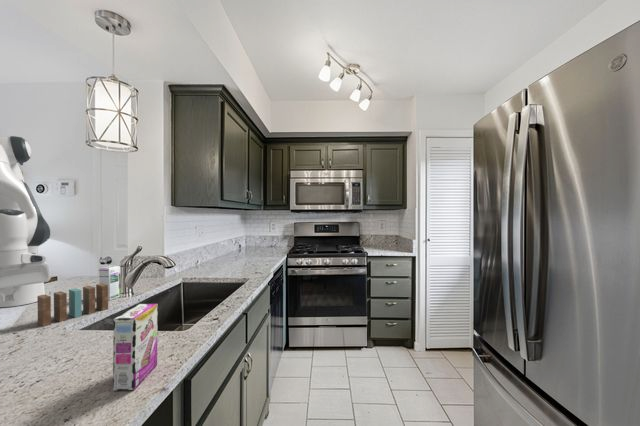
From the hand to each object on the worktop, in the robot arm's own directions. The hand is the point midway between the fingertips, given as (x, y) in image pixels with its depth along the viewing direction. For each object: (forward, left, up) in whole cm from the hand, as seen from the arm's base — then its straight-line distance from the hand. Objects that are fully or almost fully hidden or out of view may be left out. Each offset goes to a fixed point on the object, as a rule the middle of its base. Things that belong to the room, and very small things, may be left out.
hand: (8, 300), depth 95 cm
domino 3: (0, +18, -11) cm, 21 cm away
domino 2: (0, +13, -11) cm, 17 cm away
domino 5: (0, +27, -11) cm, 29 cm away
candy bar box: (+63, +6, -11) cm, 64 cm away
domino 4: (0, +22, -11) cm, 25 cm away
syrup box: (-13, +36, -11) cm, 39 cm away
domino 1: (0, +9, -11) cm, 14 cm away
